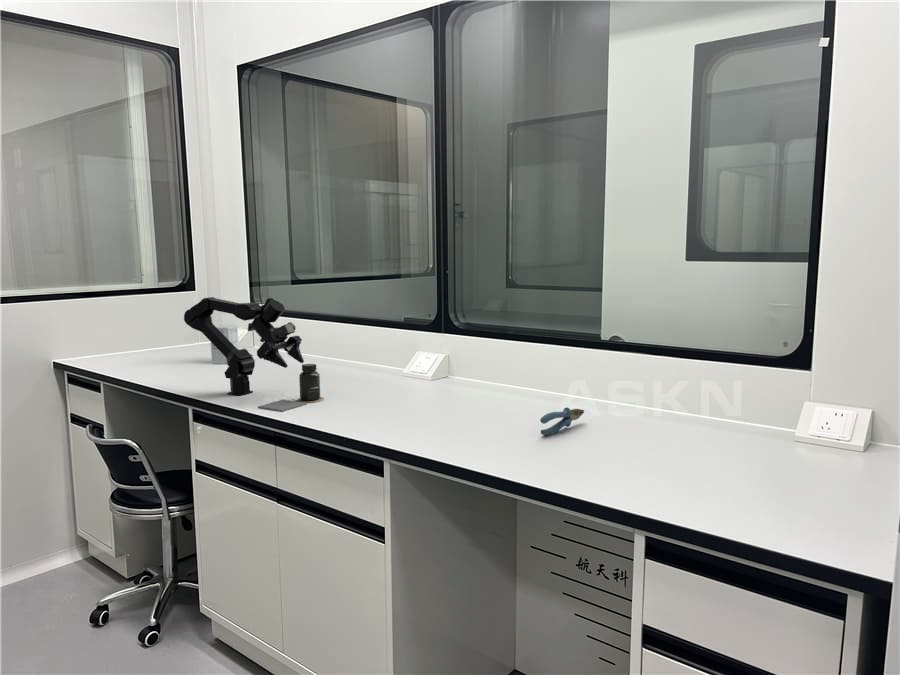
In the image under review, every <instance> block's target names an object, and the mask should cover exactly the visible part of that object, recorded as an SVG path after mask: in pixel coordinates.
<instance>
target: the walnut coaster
mask: <svg viewBox="0 0 900 675" xmlns="http://www.w3.org/2000/svg"><path fill="white" fill-rule="evenodd" d="M324 399H325V398H324V397H322V396H320V399H319V400H316V401H302V400H301V399H300V397H299V398H298V399H296V402H303V403H307V404H315V403H320V402H322V401H324Z"/></svg>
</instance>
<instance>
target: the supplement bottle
mask: <svg viewBox="0 0 900 675" xmlns="http://www.w3.org/2000/svg"><path fill="white" fill-rule="evenodd" d="M298 378H299V380H298V381H299V384H298V385H299V398H300V399H301V400H302V401H316V400H319V399H320V397H321V379H320V378H321V376H320V373H319V372H318V371H317V364H316V363H304V364H303V363H302V365H301V372H300V373H299V377H298Z"/></svg>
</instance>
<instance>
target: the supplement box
mask: <svg viewBox="0 0 900 675" xmlns="http://www.w3.org/2000/svg"><path fill="white" fill-rule="evenodd" d="M214 326H215V327H216V328H217V329H218V330H219V331H220V332H221V333H222V334H223V335H224V336H225V337H226V338H227V339H228V340H229V341H230V342H231V343H232V344H233V345H234V346H235V347H236V348H237V349H238V350H240V346H239V329H238V328H239V327H238V325H237V324H218V325H214ZM210 351H211V352H210V353H211V354H210V355H211V363H213V364H212V365H227V359H226V357H225V356H224V355H223V354H222V353H221V352H220V351H219V350H218V349H217V348H216V347H215V346H214V345H213V344H212V342H211V341H210ZM214 363H215V364H214Z"/></svg>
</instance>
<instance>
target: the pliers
mask: <svg viewBox="0 0 900 675" xmlns="http://www.w3.org/2000/svg"><path fill="white" fill-rule="evenodd" d="M584 413H585V410H584V409H580V408H573V409H570V408H569V407H564V408H563V410H562V411H551V412H549V413H546V414H544V415H542V416H541V418H540V423H541V424H547V423H548V422H550V421H552V420H556V419H559V418H560V419H561V420H559V421H558V422H556V423H555V424H553V425H551V426H550V427H548V428H545V429H541V430H540V434H541V435H542V436H550V435H553V434H556V433H557V432H559V431H560V430H561V429H563V428H564V427H567V428H569V427H570V426H571V424H572V421H577V420H578V419H579V418H580V417H581V416H583V414H584Z"/></svg>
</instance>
